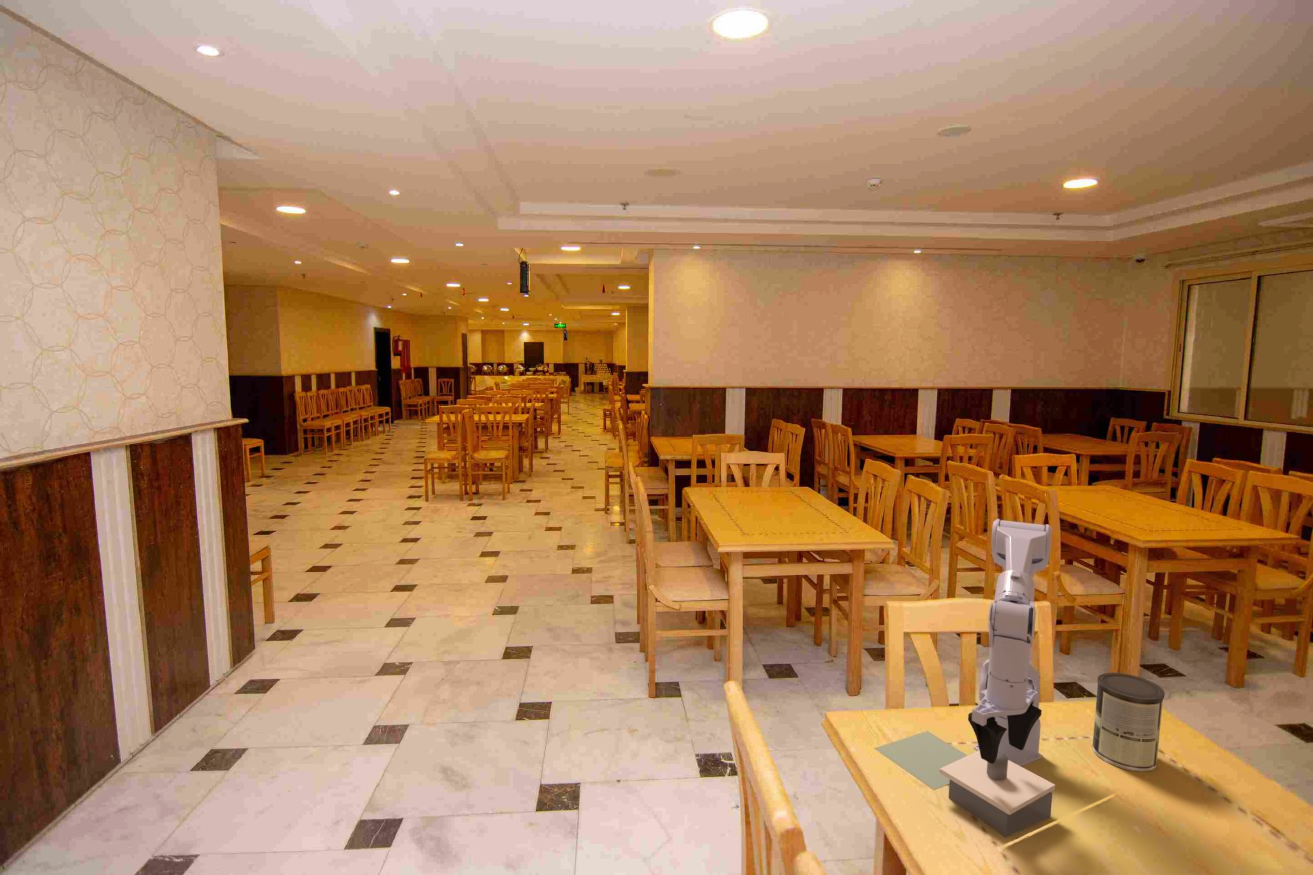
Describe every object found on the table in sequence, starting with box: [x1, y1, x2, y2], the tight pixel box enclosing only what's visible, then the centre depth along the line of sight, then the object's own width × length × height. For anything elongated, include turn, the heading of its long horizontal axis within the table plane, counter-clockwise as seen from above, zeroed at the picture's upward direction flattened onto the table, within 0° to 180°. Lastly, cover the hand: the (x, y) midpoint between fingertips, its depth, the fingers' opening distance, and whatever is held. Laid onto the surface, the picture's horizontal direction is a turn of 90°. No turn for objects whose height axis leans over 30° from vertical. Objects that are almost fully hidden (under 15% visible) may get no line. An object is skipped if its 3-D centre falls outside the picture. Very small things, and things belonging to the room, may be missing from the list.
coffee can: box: [1091, 672, 1166, 773], centre depth 129 cm, size 10×10×14 cm
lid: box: [940, 750, 1056, 815], centre depth 114 cm, size 12×12×4 cm
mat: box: [874, 730, 969, 791], centre depth 128 cm, size 14×14×1 cm
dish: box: [948, 780, 1053, 838], centre depth 114 cm, size 11×11×5 cm
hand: (1002, 753), depth 113 cm, fingers open, 7 cm apart
